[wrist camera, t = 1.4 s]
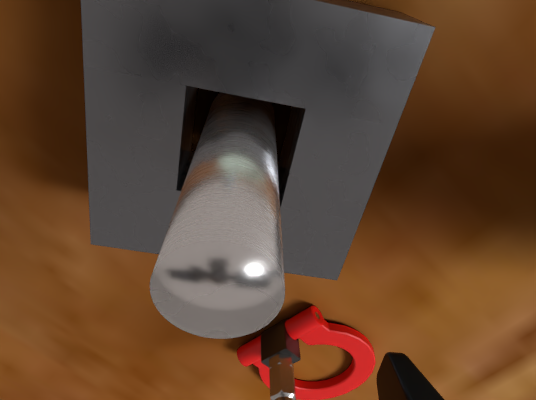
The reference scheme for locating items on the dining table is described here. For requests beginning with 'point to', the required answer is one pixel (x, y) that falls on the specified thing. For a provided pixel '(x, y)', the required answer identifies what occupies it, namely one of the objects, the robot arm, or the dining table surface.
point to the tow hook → (287, 352)
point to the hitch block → (252, 86)
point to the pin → (225, 228)
